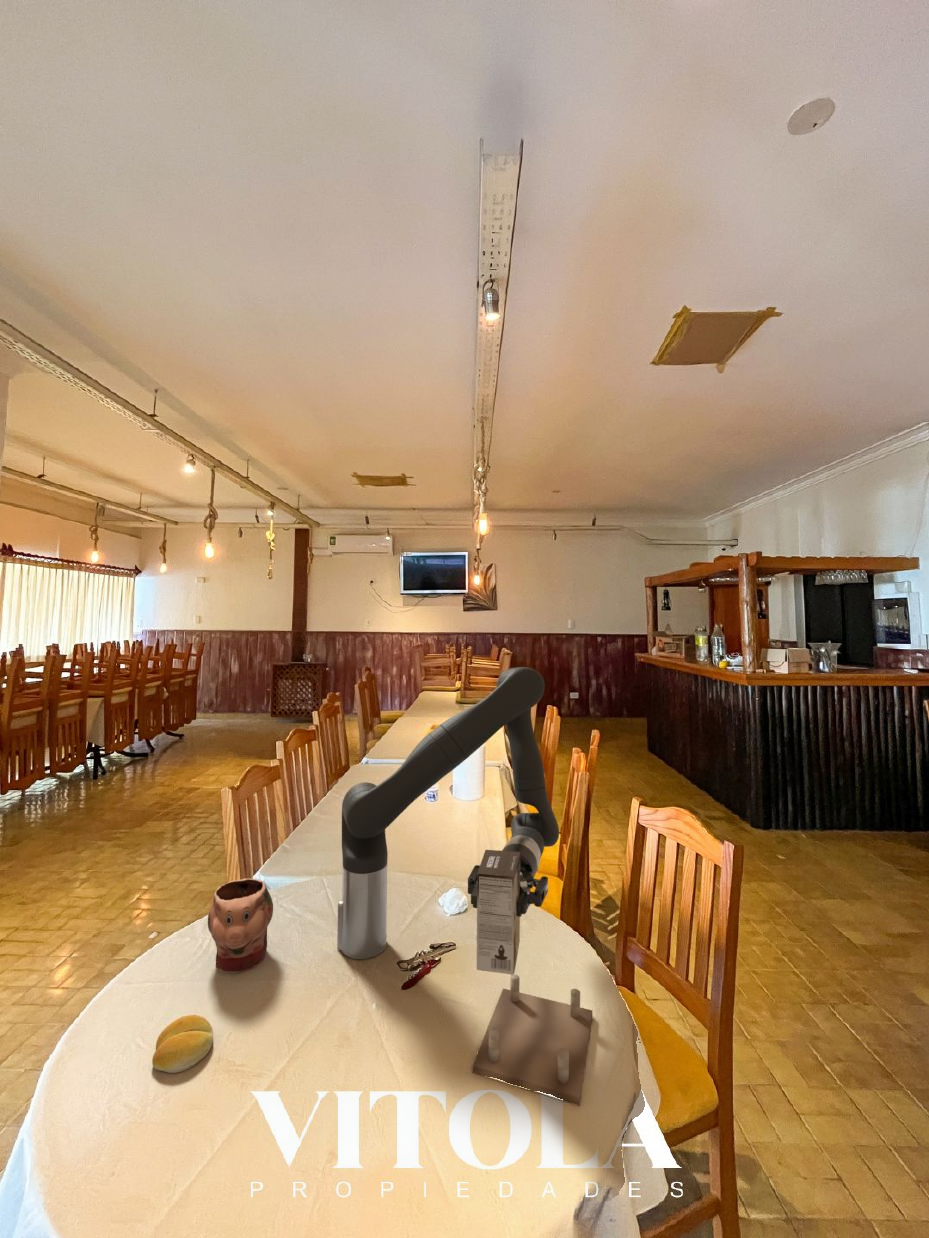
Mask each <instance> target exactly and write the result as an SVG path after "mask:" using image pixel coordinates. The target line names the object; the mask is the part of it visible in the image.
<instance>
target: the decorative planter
mask: <svg viewBox="0 0 929 1238" xmlns="http://www.w3.org/2000/svg"><path fill="white" fill-rule="evenodd" d="M273 915H274V903H273V899H272V896H271V894H270V893H269V890H268V887H267V884H266V882H264V881H263V880H262V879H259V878H245V877H244V878H242V879H236V880H231V881H229V882H226V883H224V884H221V885H220V886H219V887H218V888H217V889H216V890H215V892H214V894H213V898H212V904H211V905H210V907H209V910H208V913H207V929H208V931H209V933H210V934H211V937H212V939H213V941H214V943H215V946H216V954H215V968H216V969H218V970H219V971H220V972H222V973H223V972H224V973H239V972H243V971H247V970H250V969H252V968H255V967H256V966H258V965H259V964H261V963H262V962H263V961H264V959H265V957H266V954H267V950H268V927H269V926H270V923H271V922H272V921H271V920H272V918H273Z"/></svg>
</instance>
